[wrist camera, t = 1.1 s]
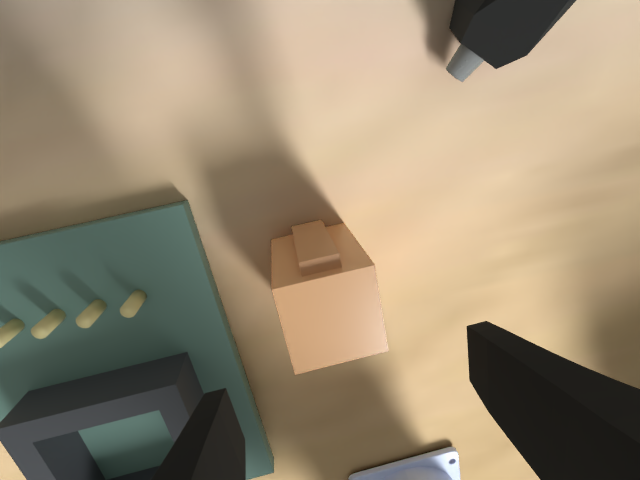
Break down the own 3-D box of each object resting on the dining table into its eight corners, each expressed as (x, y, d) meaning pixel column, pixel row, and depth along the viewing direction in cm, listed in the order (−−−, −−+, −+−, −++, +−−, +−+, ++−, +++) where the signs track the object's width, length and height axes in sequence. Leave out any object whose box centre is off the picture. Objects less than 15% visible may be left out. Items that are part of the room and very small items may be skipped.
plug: (355, 287, 20) (388, 351, 15) (287, 304, 20) (294, 374, 14) (342, 212, 19) (372, 250, 13) (268, 228, 19) (267, 275, 13)
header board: (273, 458, 24) (274, 513, 20) (76, 511, 23) (43, 577, 19) (187, 200, 17) (168, 218, 14) (-86, 260, 17) (-173, 294, 13)
